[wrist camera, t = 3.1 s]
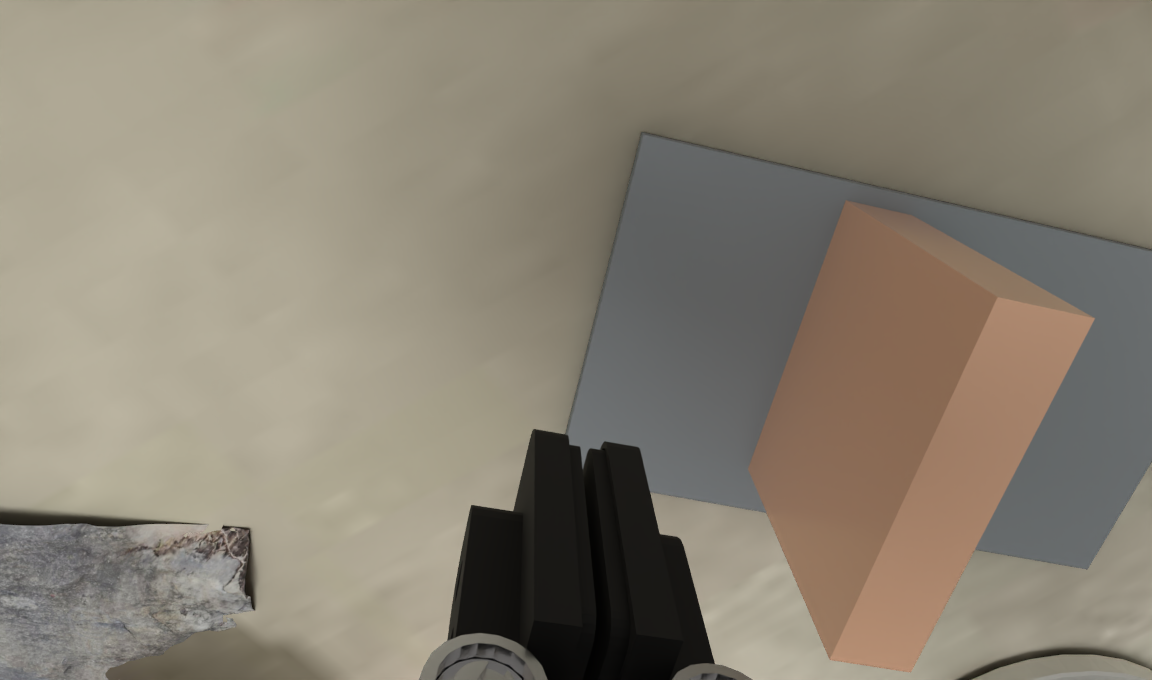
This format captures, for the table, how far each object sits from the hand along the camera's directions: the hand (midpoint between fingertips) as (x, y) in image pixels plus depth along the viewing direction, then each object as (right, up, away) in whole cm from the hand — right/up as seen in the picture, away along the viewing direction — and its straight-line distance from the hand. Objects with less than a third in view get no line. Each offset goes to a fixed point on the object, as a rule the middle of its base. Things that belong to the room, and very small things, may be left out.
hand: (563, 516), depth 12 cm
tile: (+8, +2, +11) cm, 14 cm away
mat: (+10, +2, +12) cm, 16 cm away
